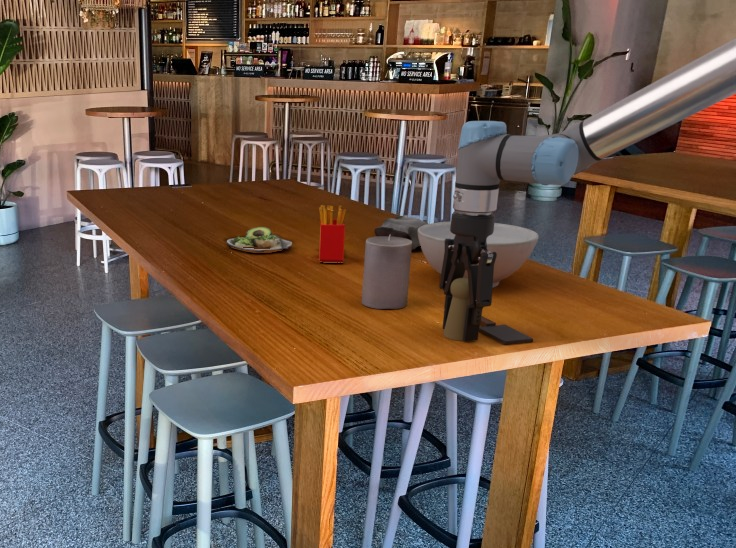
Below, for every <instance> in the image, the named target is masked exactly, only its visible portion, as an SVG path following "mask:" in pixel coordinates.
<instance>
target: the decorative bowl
mask: <svg viewBox="0 0 736 548" xmlns="http://www.w3.org/2000/svg"><path fill="white" fill-rule="evenodd" d="M450 226H451V221H440V222H432V223H428V224H427V225H423V226H421V227H419V228H418V238H419V242H420V246H421V247H420V246H419V247H420V249H421V252H422V253H423V256H424V258H425V259H426V261H427V262H428V264H429V265H430V266H431V267H432V269H433V270H434V271H435V272H437V273H438V274H439V275H441V271H442V265H443V259H444V252H445V239H450V238H454V237H455V234H453V233H451V231H450ZM539 238H540V237H539V233H537V232H536V231H534V230H532V229H529V228H526V227H523V226H518V225H512V224H508V223H499V222H495V223H494V231H493V234H492V235H490V236H488V237H487V249H488V250H489V251H490V252H496V253H497V257H496V260H495V264H494V274H493V288H496V287H498V286H499V284H500V281H502V280H505V279H507V278H508V277H510V276H512V275H513V274H514V273H516V272H517V271H518V270H519V269H520V268H521V267H522V266H524V264H525V263H526V261H527V260H528V259H529V258H530V256H531V254H532V252H533V251H534V249H535V247H536V245H537V243H538V241H539ZM478 264H479V263H478ZM478 264H477V265H478ZM463 278H468V273H467V271H466V270H465V273H464V276H463ZM446 282H447V281H445V283H446Z"/></svg>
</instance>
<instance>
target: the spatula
mask: <svg viewBox="0 0 736 548" xmlns="http://www.w3.org/2000/svg"><path fill="white" fill-rule="evenodd" d="M479 333H481V334H483V335H485V336H487V337H489V338H491V339H492V340H494V341H496V342H498V343H500V344H502V345H504V346H507V345H516V344H527V343H534V338H533V337H531V336H529V335H527V334H525V333H524V332H521V331H519V330H517V329H515V328H513V327H511V326H509V325H507V324H497V322H495V321H493V320H491V319H489V318H488V317H485V316H483V315H482V316H481V323H480V326H479Z"/></svg>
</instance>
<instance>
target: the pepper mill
mask: <svg viewBox="0 0 736 548" xmlns="http://www.w3.org/2000/svg"><path fill="white" fill-rule="evenodd" d="M450 289H451V293H452V295H453V297H452V301H451V305H450V309H449V313H448V317H447V321H446V325H445V329H443V337H445V338H446V339H449V340H453V341H459V342H464V341H463V333H464V325H465V316H466V308H467V307H466V305H470V300H469V286H468V278H458V279H455V280H454V281H453V282H452V284H451V288H450Z"/></svg>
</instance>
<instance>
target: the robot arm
mask: <svg viewBox="0 0 736 548" xmlns="http://www.w3.org/2000/svg"><path fill="white" fill-rule="evenodd" d="M734 95H736V37H735V38H733V39H731V40H729V41H728V42H726V43H724V44H721V45H720V46H718V47H716V48H715V49H713V50H711V51H708V52H707V53H705V54H703V55H702V56H700V57H698V58H696V59H694V60H692V61H690V62H689V63H687V64H685V65H683V66H681V67H680V68H678V69H676V70H674V71H672V72H670V73H668V74H667V75H665V76H663V77H660V78H659V79H657V80H656V81H654V82H651V83H650V84H648V85H647V86H645V87H642V88H641V89H639V90H637V91H635V92H634V93H632V94H630V95H628V96H626V97H624V98H622V99H620V100H619V101H617V102H615V103H613V104H611V105H609V106H608V107H606V108H604V109H602V110H600V111H598V112H596V113H595V114H592V115H590V116H589V117H587V118H585V119H584V120H582V121H579V122H578V123H575V124H574V125H573V126H570V127H569V128H567V129H565V130H563V131H561V132H557V133H552V134H544V135H515V134H510V133H508V130H507V124H506V122H504V121H497V120H470V121H467V122H465V123H463V125H462V127H461V131H460V136H459V142H458V146H457V163H456V174H455V183H454V193H453V196H452V198H453V201H452V209H453V210H454V211H453V212H452V213H451V217H450V222H451V226H450V231H451V233H453V234H455V237H454V238H450V239H445V252H444V259H443V265H442V271H441V274H440V278H439V285H438V287H439V290H443V294H444V296H445V297H444V306H443V307H444V309H443V319H442V330H444V329H445V325H446V321H447V317H448V313H449V309H450V305H451V301H452V297H453V295H452V293H451V289H450V288H451V284H452V282H453V281H454V280H455V279H458V278H463V276H464V273H465V270H466V271H467V273H468V286H469V300H470V305H466V307H467V308H466V316H465V325H464V333H463V341H462V342H475V341H478V340H479V333H480V332H479V327H481V326H480V323H481V316H483V309H484V308H487V307H491V306H492V303H493V302H492V300H493V289H494V287H493V274H494V264H495V260H496V257H497V253H496V252H490V251H489V250H488V249H487V237H488V236H490V235H492V234H493V231H494V223H496V215H495V213H494V212H496V211H497V209H498V201H499V200H498V199H499V191H500V183H501V181H509V182H519V183H527V184H538V185H541V186H564V185H566V184H568V183H569V182H570V180H571V179H572V178H573V177H574V176H575V175H578V174H581V173H582V172H584V171H586V170H587V169H589V168H590V166H592V165H594V164H597V163H598V162H600V161H602V160H604V159H606V158H608V157H610V156H612V155H614V154H616V153H618V152H621V151H622V150H625V149H626V148H629V147H630V146H632V145H634V144H636V143H639V142H641V141H642V140H644V139H646V138H648V137H650V136H653V135H655V134H657V133H658V132H661V131H663V130H665V129H667V128H669V127H671V126H673V125H675V124H677V123H679V122H681V121H683V120H685V119H687V118H689V117H691V116H694V115H696V114H697V113H699V112H701V111H703V110H706V109H707V108H710V107H712V106H714V105H716V104H718V103H720V102H722V101H724V100H725V99H726V100H727V99H728V98H730V97H732V96H734ZM478 263H479V264H478ZM477 264H478V265H477ZM445 281H447V282H445Z"/></svg>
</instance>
